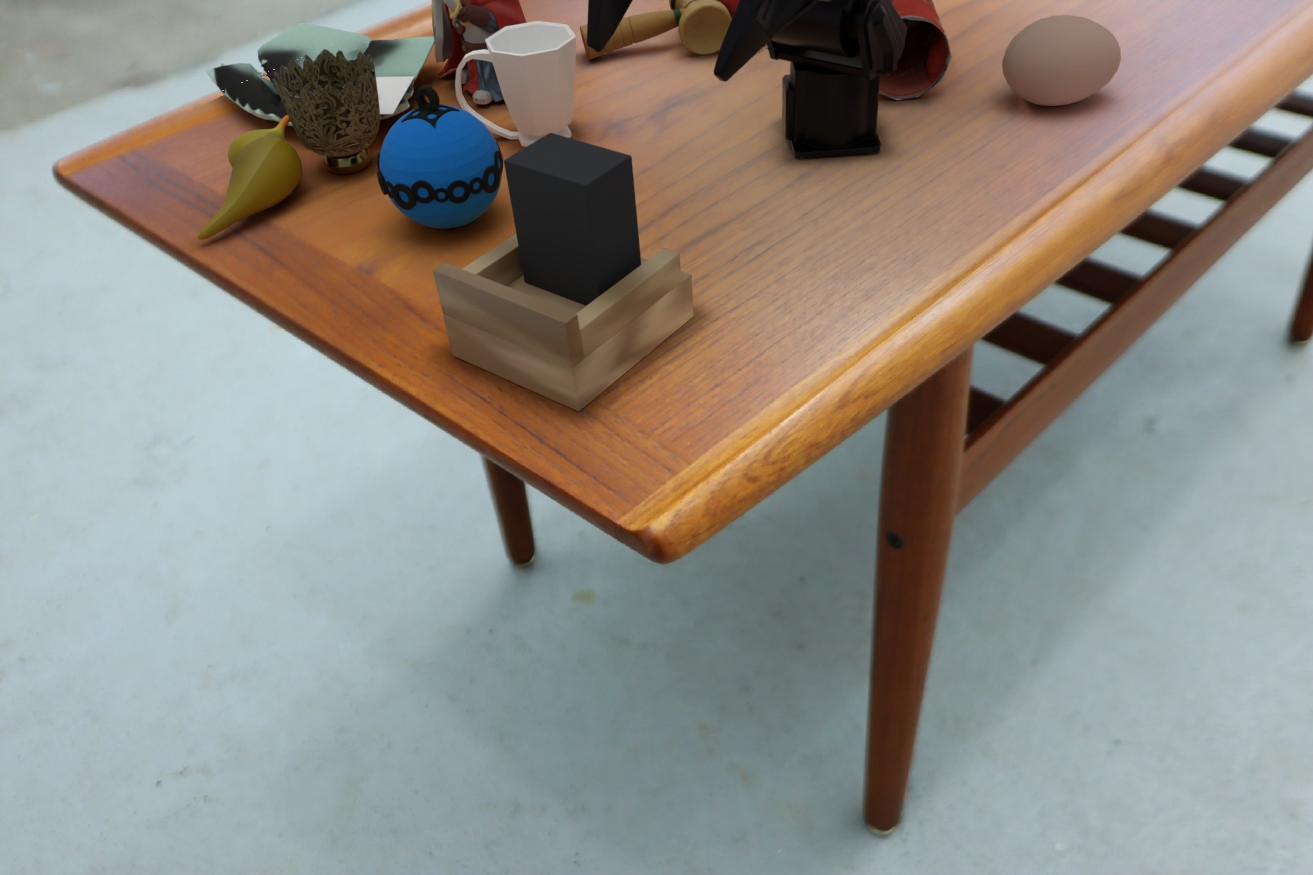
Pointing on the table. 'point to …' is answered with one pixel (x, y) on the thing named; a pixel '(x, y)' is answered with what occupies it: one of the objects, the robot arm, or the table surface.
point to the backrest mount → (559, 323)
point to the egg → (1060, 60)
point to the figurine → (472, 39)
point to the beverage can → (918, 52)
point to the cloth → (308, 39)
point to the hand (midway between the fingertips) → (653, 63)
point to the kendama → (674, 26)
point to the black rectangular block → (573, 216)
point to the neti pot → (256, 176)
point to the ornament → (439, 164)
